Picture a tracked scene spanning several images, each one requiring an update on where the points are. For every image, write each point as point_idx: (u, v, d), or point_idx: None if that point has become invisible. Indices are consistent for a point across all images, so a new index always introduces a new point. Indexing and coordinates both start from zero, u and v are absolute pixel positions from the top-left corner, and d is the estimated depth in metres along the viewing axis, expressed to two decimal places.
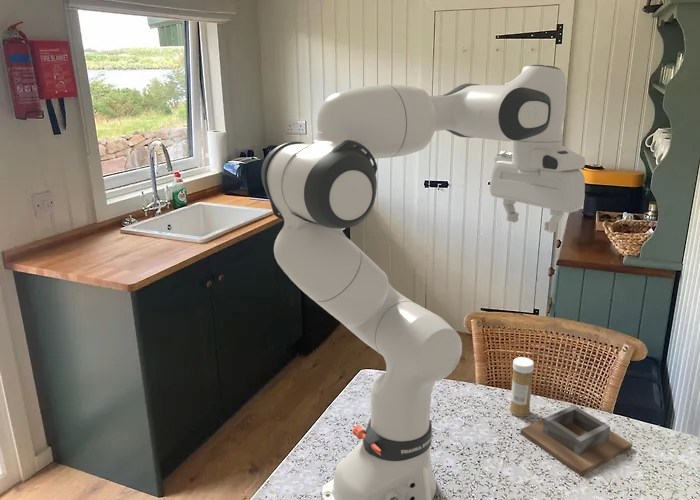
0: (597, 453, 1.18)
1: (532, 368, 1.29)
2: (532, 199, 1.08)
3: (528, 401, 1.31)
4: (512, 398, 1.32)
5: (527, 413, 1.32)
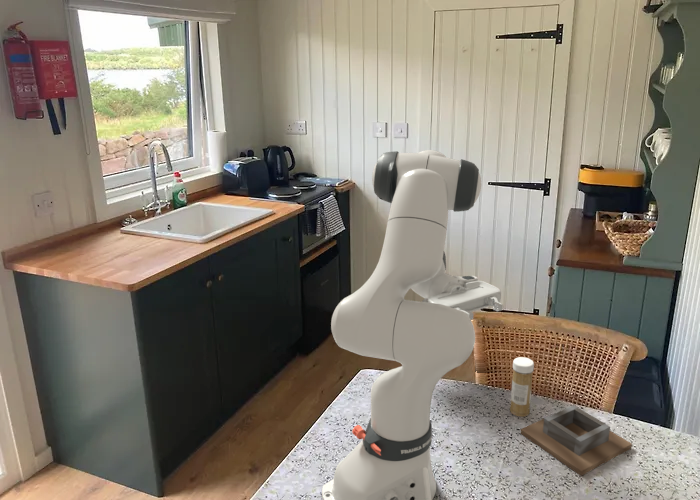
0: (597, 453, 1.18)
1: (532, 368, 1.29)
2: (474, 296, 1.43)
3: (528, 401, 1.31)
4: (512, 398, 1.32)
5: (527, 413, 1.32)
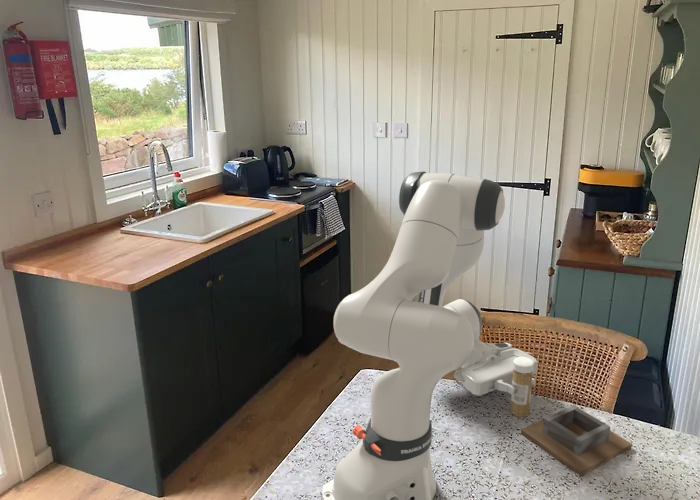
0: (597, 453, 1.18)
1: (532, 368, 1.29)
2: (510, 367, 1.36)
3: (528, 401, 1.31)
4: (512, 398, 1.32)
5: (527, 413, 1.32)
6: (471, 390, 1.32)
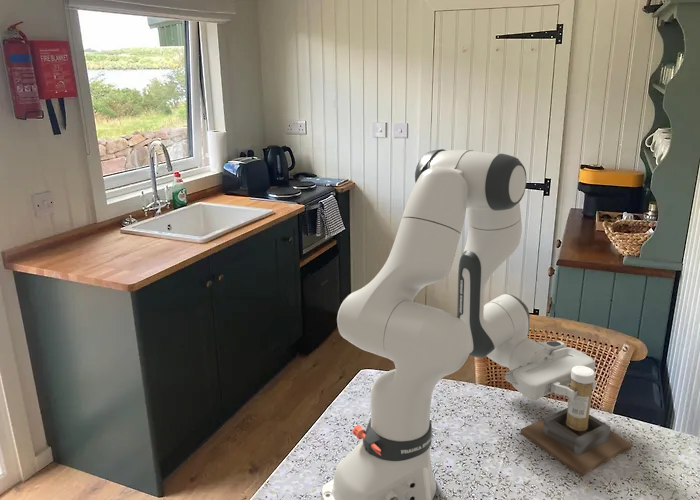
0: (597, 453, 1.18)
1: (593, 378, 1.17)
2: (567, 368, 1.24)
3: (587, 414, 1.20)
4: (569, 411, 1.21)
5: (586, 427, 1.21)
6: (525, 394, 1.20)
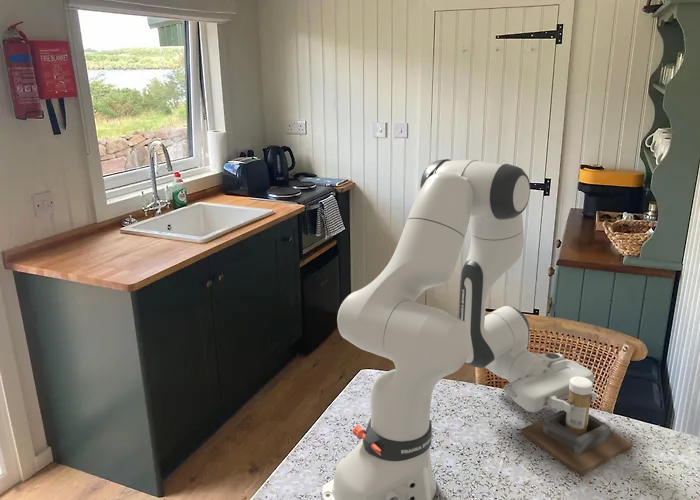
0: (597, 453, 1.18)
1: (591, 389, 1.18)
2: (566, 381, 1.25)
3: (585, 424, 1.21)
4: (568, 421, 1.22)
5: None
6: (524, 406, 1.21)
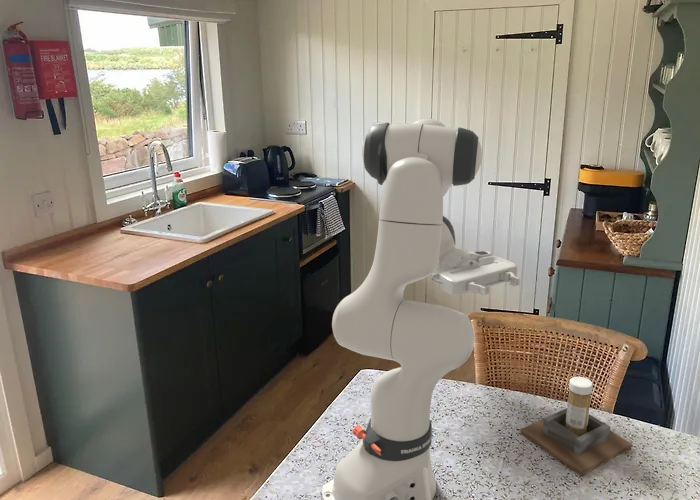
0: (597, 453, 1.18)
1: (591, 389, 1.18)
2: (489, 270, 1.34)
3: (585, 424, 1.21)
4: (568, 421, 1.22)
5: None
6: (448, 290, 1.30)
